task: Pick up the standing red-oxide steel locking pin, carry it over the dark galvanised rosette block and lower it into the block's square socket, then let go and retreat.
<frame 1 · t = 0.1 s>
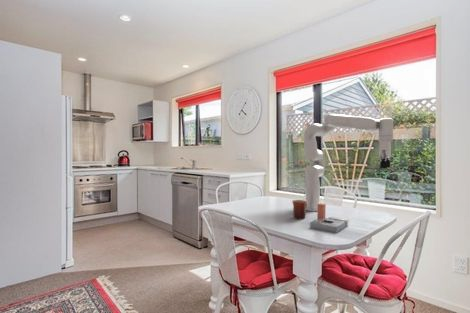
hand: (385, 167, 163), 31 cm above the table, fingers open, 9 cm apart
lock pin: (321, 221, 160), on the table
rosette block: (328, 227, 146), on the table
mug: (300, 217, 168), on the table
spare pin: (338, 224, 153), on the table
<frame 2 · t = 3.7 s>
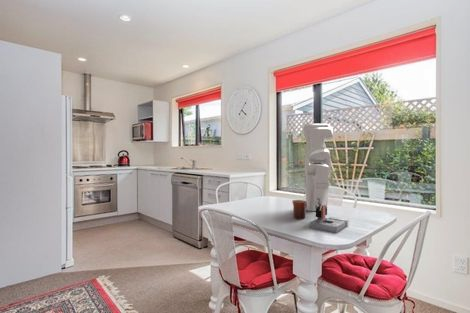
hand: (321, 215, 160), 3 cm above the table, fingers open, 7 cm apart
nothing on the table moved.
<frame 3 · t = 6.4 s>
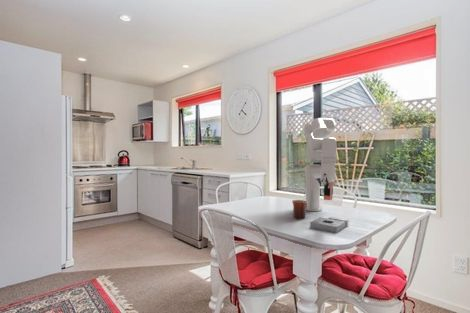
hand: (328, 194, 146), 17 cm above the table, fingers closed on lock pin, 3 cm apart
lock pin: (328, 199, 146), point 15 cm above the table, touching gripper
everything else where it was.
when the fingers open (4 cm above the table, at t = 8.3 s): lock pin drops 2 cm, resting in rosette block.
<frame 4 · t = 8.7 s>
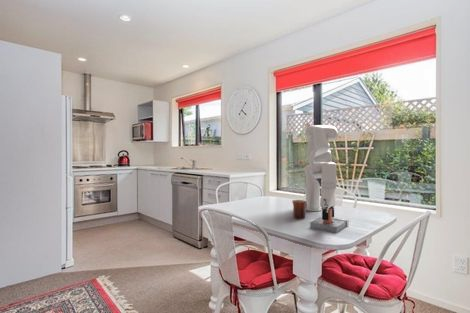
hand: (328, 218, 146), 5 cm above the table, fingers open, 8 cm apart
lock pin: (327, 227, 146), resting in rosette block
everything else where it was.
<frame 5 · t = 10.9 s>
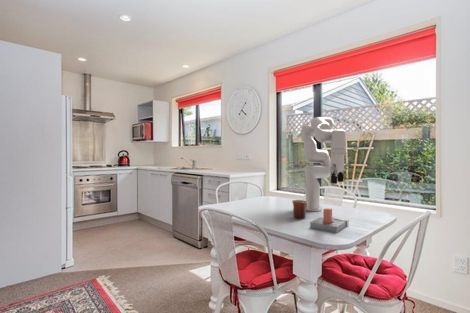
hand: (337, 182, 153), 23 cm above the table, fingers open, 9 cm apart
nothing on the table moved.
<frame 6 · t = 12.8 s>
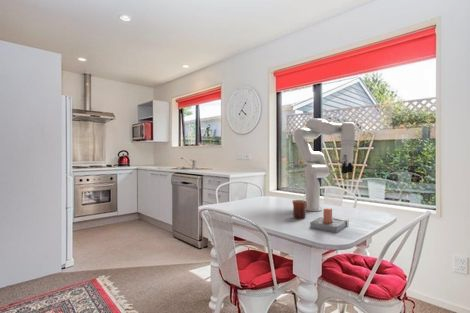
hand: (347, 172, 161), 28 cm above the table, fingers open, 9 cm apart
nothing on the table moved.
at the end: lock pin 0.2 cm off-centre on the rosette block, point 0.0 cm above the rosette block's base; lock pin tilted 0°; the gripper is holding nothing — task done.
